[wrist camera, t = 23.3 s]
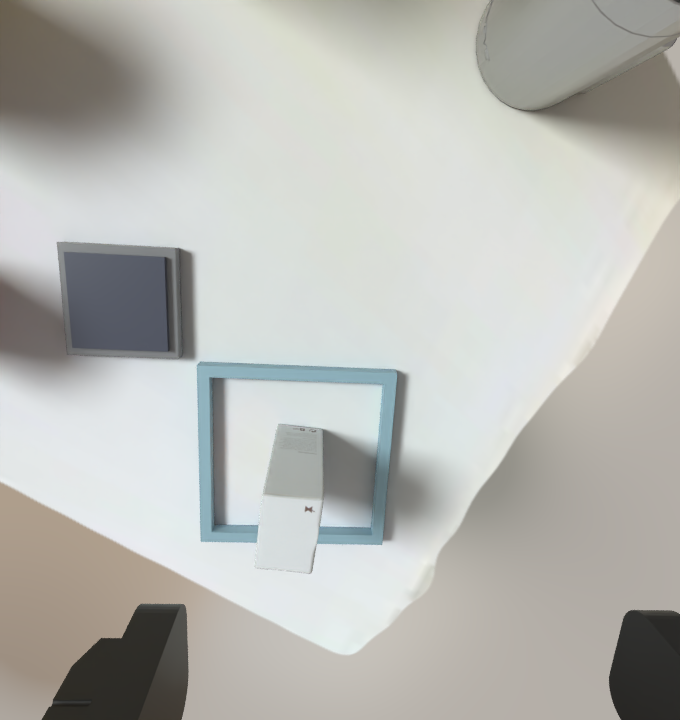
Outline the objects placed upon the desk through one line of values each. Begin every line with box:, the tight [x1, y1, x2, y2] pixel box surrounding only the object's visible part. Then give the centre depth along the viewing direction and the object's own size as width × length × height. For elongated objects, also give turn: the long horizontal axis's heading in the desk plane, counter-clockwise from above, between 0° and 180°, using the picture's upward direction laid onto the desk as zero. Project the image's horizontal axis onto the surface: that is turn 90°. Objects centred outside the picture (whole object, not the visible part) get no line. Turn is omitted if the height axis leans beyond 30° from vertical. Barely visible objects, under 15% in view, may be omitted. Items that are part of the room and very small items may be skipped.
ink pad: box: [57, 242, 182, 359], centre depth 38 cm, size 9×9×2 cm
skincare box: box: [254, 424, 324, 574], centre depth 38 cm, size 6×4×12 cm
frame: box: [197, 362, 397, 545], centre depth 43 cm, size 17×17×1 cm
